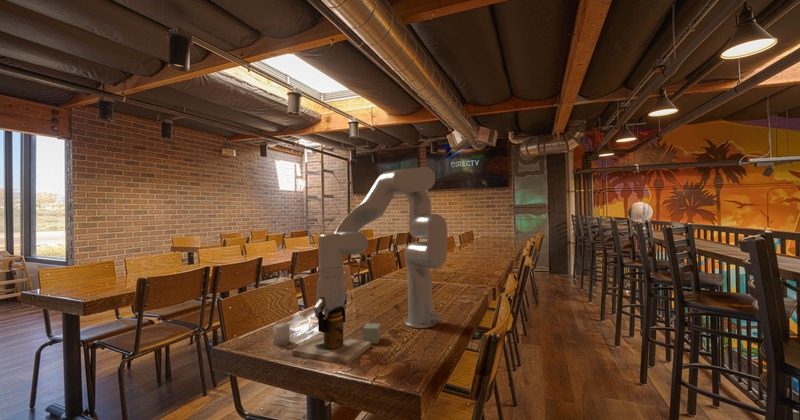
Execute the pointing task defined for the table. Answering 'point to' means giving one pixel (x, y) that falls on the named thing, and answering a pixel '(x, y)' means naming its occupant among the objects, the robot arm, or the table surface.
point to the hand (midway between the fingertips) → (332, 326)
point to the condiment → (333, 332)
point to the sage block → (372, 332)
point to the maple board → (336, 356)
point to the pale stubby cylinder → (281, 334)
